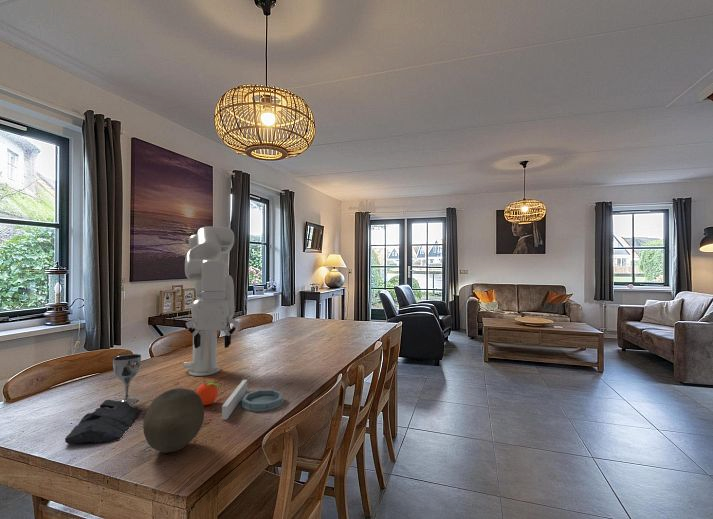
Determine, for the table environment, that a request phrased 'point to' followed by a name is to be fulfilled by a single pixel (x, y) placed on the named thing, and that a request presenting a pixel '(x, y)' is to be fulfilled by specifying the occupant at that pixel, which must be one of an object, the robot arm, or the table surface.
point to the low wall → (234, 400)
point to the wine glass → (127, 371)
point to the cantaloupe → (173, 419)
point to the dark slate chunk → (104, 423)
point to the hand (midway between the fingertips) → (212, 347)
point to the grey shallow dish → (262, 400)
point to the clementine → (207, 393)
